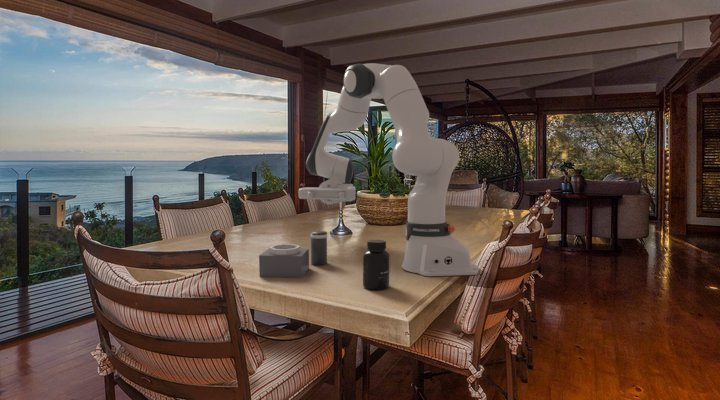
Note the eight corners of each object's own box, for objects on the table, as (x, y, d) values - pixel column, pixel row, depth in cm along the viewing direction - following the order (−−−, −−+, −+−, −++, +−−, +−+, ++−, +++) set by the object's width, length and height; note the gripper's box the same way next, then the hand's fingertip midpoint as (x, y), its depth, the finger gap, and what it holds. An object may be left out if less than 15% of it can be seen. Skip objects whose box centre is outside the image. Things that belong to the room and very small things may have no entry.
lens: (328, 261, 136) (328, 231, 135) (325, 265, 131) (325, 233, 130) (312, 261, 136) (312, 230, 135) (309, 265, 131) (308, 233, 130)
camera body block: (309, 268, 128) (308, 243, 127) (301, 277, 118) (301, 250, 117) (270, 267, 129) (269, 243, 128) (259, 276, 119) (258, 250, 118)
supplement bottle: (387, 291, 105) (387, 244, 104) (360, 290, 107) (360, 243, 105) (391, 283, 112) (391, 239, 111) (365, 282, 113) (365, 238, 112)
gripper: (302, 183, 158) (293, 185, 144) (357, 184, 156) (354, 186, 143) (302, 199, 158) (294, 204, 145) (357, 201, 157) (353, 205, 143)
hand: (324, 195), depth 144 cm, fingers open, 8 cm apart
